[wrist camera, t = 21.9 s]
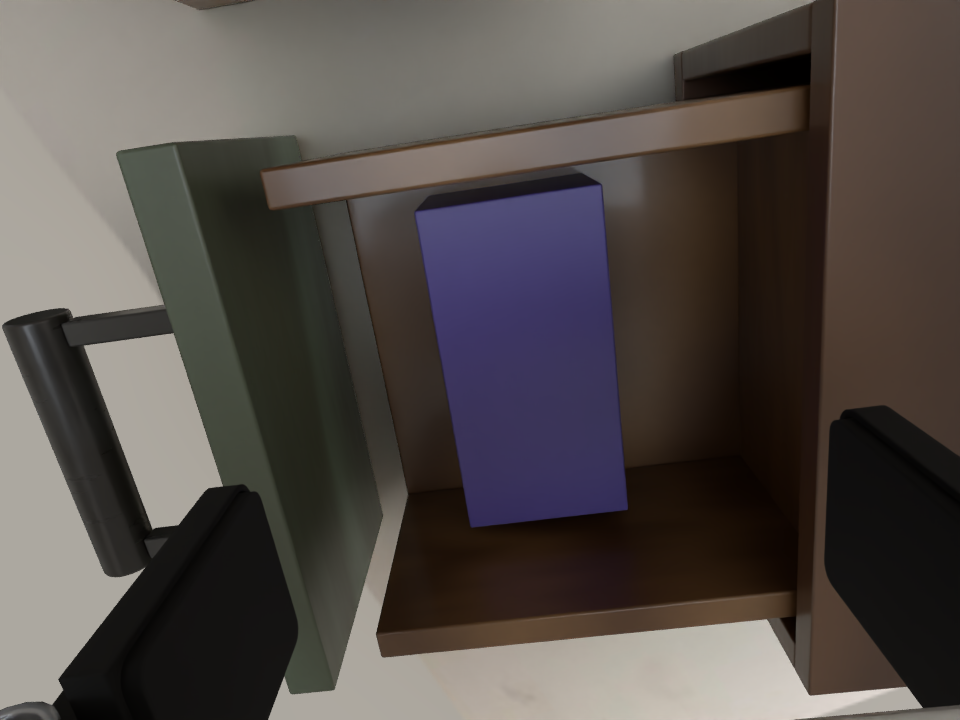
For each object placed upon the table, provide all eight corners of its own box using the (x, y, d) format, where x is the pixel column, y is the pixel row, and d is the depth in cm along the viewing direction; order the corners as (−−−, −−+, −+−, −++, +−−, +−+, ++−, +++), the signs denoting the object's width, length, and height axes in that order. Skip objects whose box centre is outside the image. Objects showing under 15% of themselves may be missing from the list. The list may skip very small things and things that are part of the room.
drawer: (224, 534, 24) (107, 713, 17) (101, 165, 20) (-131, 190, 12) (751, 474, 23) (873, 639, 16) (750, 63, 18) (921, 23, 11)
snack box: (473, 467, 22) (470, 528, 18) (427, 195, 19) (413, 211, 15) (607, 451, 21) (628, 510, 18) (583, 172, 18) (602, 182, 15)
